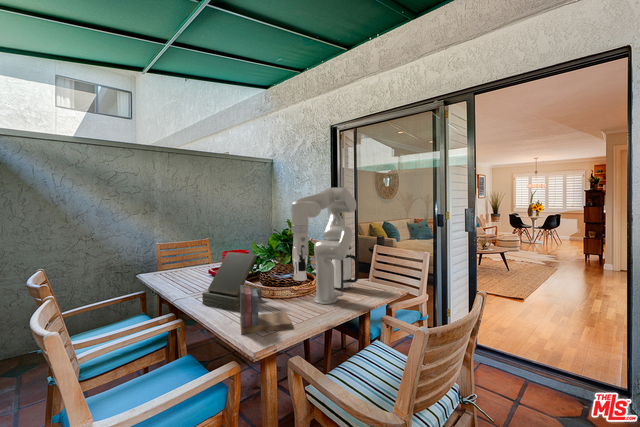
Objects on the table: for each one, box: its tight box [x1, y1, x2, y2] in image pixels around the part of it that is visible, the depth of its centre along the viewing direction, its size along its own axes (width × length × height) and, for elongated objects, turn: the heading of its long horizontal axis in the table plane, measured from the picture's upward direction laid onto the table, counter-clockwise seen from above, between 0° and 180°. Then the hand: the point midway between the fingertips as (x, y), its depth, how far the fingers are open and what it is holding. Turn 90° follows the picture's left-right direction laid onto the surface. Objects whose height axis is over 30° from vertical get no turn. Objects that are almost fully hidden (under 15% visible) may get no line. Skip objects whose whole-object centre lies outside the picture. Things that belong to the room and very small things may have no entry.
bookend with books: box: [239, 285, 293, 335], centre depth 126 cm, size 20×14×16 cm
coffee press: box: [332, 245, 360, 293], centre depth 178 cm, size 17×16×30 cm
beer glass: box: [291, 245, 309, 282], centre depth 133 cm, size 7×7×15 cm
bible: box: [201, 251, 263, 312], centre depth 156 cm, size 23×20×25 cm
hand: (300, 269), depth 133 cm, fingers closed on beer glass, 6 cm apart
